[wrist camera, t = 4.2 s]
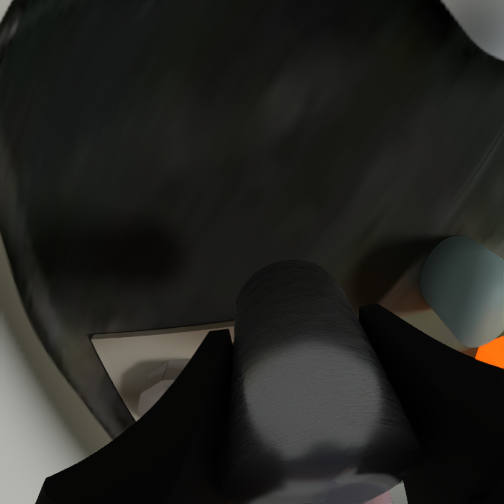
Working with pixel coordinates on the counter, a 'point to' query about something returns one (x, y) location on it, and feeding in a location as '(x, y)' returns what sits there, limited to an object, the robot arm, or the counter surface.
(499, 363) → the orange juice
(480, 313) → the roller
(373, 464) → the steel pin
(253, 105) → the counter surface
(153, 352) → the board
